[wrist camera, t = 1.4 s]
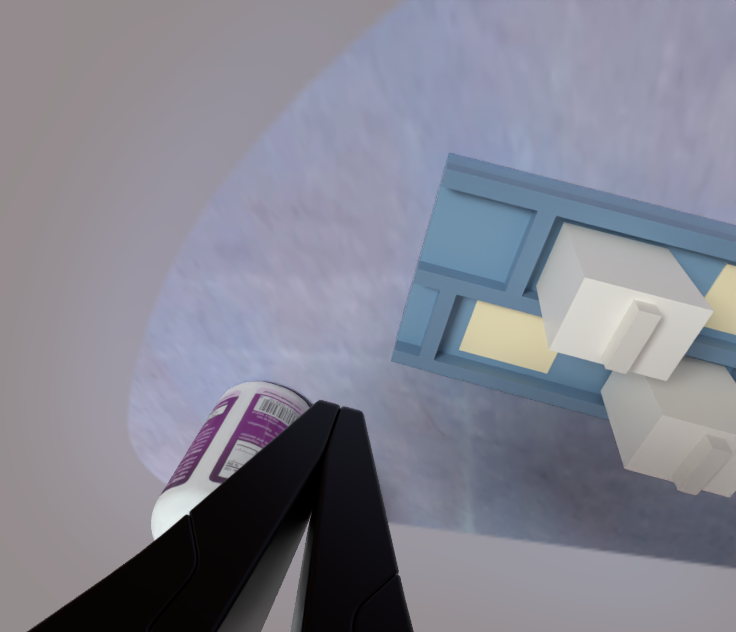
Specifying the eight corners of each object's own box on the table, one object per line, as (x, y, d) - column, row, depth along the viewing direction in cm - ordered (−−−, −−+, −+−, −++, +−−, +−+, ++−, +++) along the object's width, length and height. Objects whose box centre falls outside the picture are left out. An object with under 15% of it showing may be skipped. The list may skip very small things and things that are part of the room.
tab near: (668, 248, 17) (722, 323, 13) (632, 310, 19) (672, 394, 15) (564, 222, 17) (588, 287, 14) (536, 285, 19) (551, 361, 15)
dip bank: (881, 262, 18) (921, 289, 16) (742, 428, 22) (762, 462, 20) (449, 152, 18) (446, 168, 17) (397, 335, 23) (391, 361, 21)
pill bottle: (245, 459, 29) (155, 643, 21) (203, 384, 26) (81, 559, 18) (336, 451, 27) (277, 647, 19) (300, 370, 25) (215, 555, 17)
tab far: (724, 366, 19) (787, 460, 15) (688, 414, 21) (737, 512, 17) (630, 341, 19) (668, 428, 15) (600, 391, 21) (628, 483, 17)
